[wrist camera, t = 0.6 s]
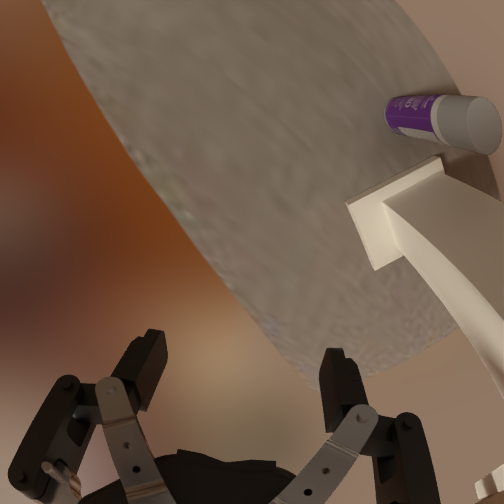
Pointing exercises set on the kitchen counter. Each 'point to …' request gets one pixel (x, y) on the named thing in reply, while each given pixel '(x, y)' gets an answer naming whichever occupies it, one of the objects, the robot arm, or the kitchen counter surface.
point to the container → (447, 120)
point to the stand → (444, 255)
